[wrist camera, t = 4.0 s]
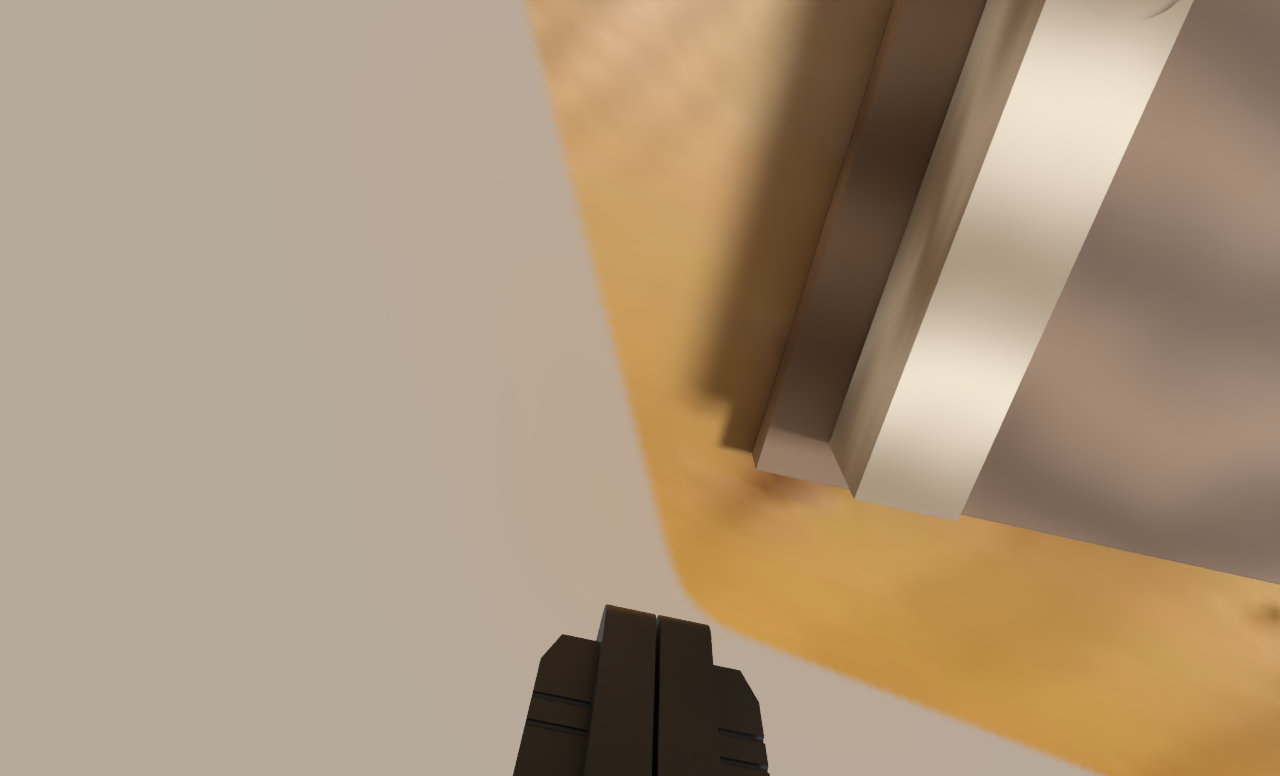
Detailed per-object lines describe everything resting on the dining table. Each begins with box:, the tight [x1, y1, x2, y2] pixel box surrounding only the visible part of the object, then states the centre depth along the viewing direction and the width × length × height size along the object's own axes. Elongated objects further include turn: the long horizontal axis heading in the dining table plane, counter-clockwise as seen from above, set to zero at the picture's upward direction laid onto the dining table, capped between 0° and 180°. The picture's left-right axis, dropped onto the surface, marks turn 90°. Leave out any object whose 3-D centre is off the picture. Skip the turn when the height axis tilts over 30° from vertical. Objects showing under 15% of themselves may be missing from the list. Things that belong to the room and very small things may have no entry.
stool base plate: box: [752, 0, 1280, 585], centre depth 19 cm, size 19×19×5 cm
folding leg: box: [829, 0, 1194, 522], centre depth 18 cm, size 16×3×4 cm, turn 168°
